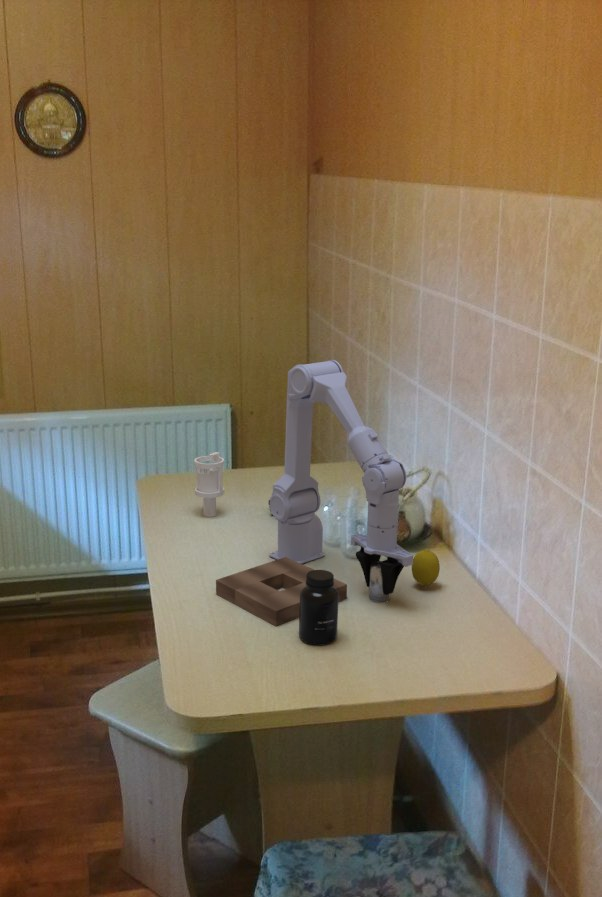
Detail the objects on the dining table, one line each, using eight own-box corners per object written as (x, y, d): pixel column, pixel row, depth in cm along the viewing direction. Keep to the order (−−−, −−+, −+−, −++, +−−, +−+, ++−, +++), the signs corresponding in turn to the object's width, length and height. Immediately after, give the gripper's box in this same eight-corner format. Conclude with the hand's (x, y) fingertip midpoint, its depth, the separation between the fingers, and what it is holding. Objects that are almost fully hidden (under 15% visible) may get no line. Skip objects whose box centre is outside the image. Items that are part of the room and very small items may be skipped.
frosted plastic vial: (379, 592, 183) (380, 559, 181) (394, 598, 181) (395, 565, 179) (364, 597, 181) (366, 564, 179) (379, 604, 178) (381, 570, 176)
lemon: (441, 583, 188) (444, 546, 185) (433, 594, 183) (435, 556, 181) (415, 578, 190) (417, 542, 188) (406, 588, 185) (408, 551, 183)
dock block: (285, 570, 193) (285, 556, 192) (346, 598, 180) (347, 584, 179) (216, 594, 181) (215, 579, 181) (276, 626, 169) (276, 611, 168)
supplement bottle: (324, 650, 160) (326, 586, 157) (291, 639, 164) (292, 576, 161) (344, 634, 166) (346, 572, 163) (311, 624, 169) (312, 563, 166)
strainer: (230, 513, 226) (229, 454, 222) (212, 521, 220) (211, 461, 216) (207, 507, 229) (206, 449, 225) (189, 516, 224) (188, 456, 219)
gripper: (340, 517, 179) (338, 582, 183) (396, 539, 169) (393, 607, 172) (366, 509, 184) (363, 573, 187) (422, 530, 173) (418, 597, 177)
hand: (379, 589), depth 180 cm, fingers closed on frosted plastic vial, 4 cm apart
